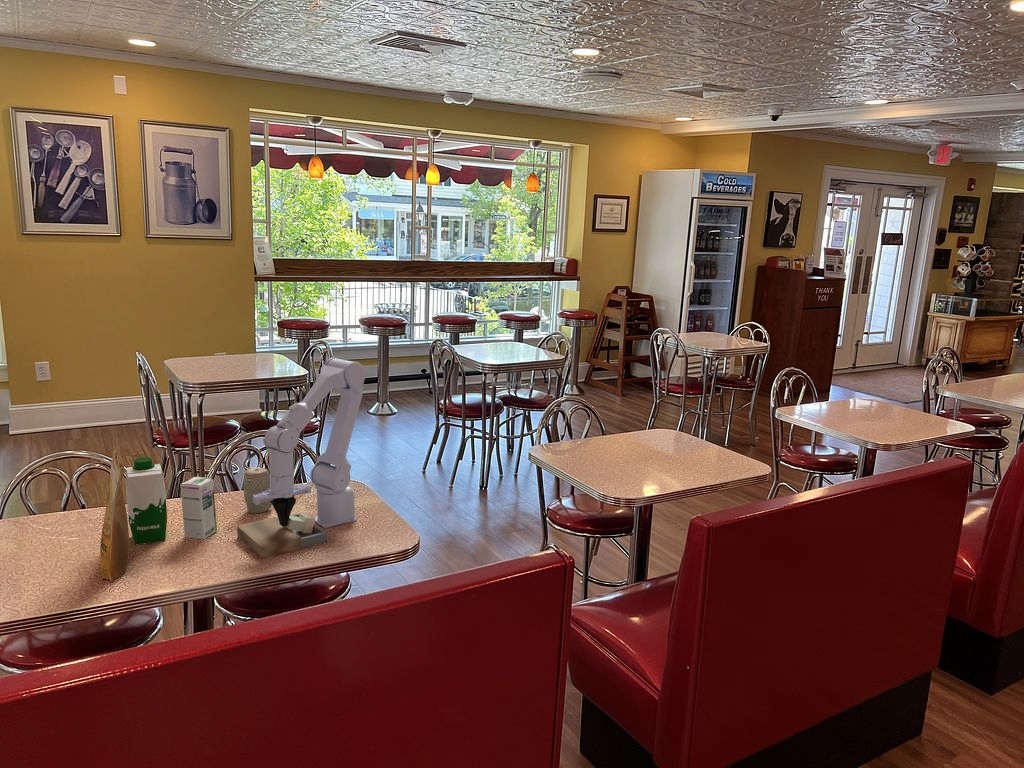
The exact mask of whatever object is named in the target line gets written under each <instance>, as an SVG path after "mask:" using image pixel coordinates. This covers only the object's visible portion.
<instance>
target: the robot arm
mask: <svg viewBox="0 0 1024 768" xmlns="http://www.w3.org/2000/svg"><path fill="white" fill-rule="evenodd" d="M366 375H367V372H366V370H365V368H364V367H363V365H362V363H361V362H359V361H352V360H346V359H342V358H338V357H330V358H328V359H327V360H326V361H325V362H324V364H323V365H322V366H321V367H320V375H319V376H318V378H317V379H316V380H315V382H314V384H313V385H312V386H311V388H310V389H309V391H308V392H307V394H306V395H305V396H304V398H303V399H302V400H301V402H295V403H293V404H292V405H290V406H289V407H288V411H287V412H286V413H285V414H284V416H282V418H281V419H280V420H279V421H278V422H277V424H276V425H273V426H271V427H269V429H267V431H266V432H265V435H264V438H262V442H263V445H264V446H265V447H266V448H267V449H266V450H267V454H268V461H269V475H270V490H268V491H265V492H262V493H259V494H256V495H253V503H254V504H256V505H258V504H260V503H262V502H267V501H270V502H271V503H272V507H273V509H274V511H275V513H276V516H277V518H278V519H279V523H280V525H281V526H283V527H284V526H287V525H288V521H289V517H290V515H291V513H292V510H293V509H294V507H295V504H296V503H297V499H296V497H295V496H298V495H304V494H308V495H309V494H311V493H312V485H310V484H308V483H305V484H297V485H295V475H294V449H295V448H296V447H297V445H298V444H299V438H300V436H301V435H300V434H301V433H302V431H303V430H305V427H306V426H307V425H308V424H309V422H311V420H312V418H313V416H314V415H313V411H314V409H315V408H316V407H317V406H318V405H319V404H320V403H321V402H322V401H323V399H325V397H327V395H328V394H329V393H330V392H331V391H332V390H335V389H336V390H337V392H338V393H339V395H340V398H339V402H338V405H337V409H336V413H335V415H334V418H333V419H334V420H333V423H332V427H331V430H330V434H329V437H328V441H327V446H326V449H325V451H324V453H322V454H320V455H319V456H318V457H317V459H316V462H315V464H314V465H313V467H312V468H311V470H310V474H309V475H310V476H309V477H310V481H311V482H312V483H313V485H314V488H315V490H316V506H317V507H316V508H317V509H316V510H317V512H316V514H317V515H315V516H313V517H314V518H315V523H316V524H318V525H319V526H321V528H322V529H325V528H327V529H328V528H331V527H335V526H338V525H342V524H347V523H350V522H354V521H357V518H356V517H355V516H356V515H355V509H356V508H355V507H356V506H355V494H354V491H353V488H352V487H351V486H349V484H351V483H350V482H351V469H352V464H351V463H350V462H349V460H348V458H347V453H348V450H349V446H350V442H351V439H352V436H353V431H354V427H355V424H356V421H357V417H358V413H359V410H360V409H359V408H360V405H361V402H362V398H363V394H364V393H363V392H364V383H365V380H366Z"/></svg>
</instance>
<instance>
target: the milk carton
mask: <svg viewBox="0 0 1024 768" xmlns="http://www.w3.org/2000/svg"><path fill="white" fill-rule="evenodd" d="M133 462H134V466H130V467H127V468H126V472H125V473H126V474H125V481H126V485H125V488H126V506H127V507H126V509H127V519H128V526H129V528H130V532H131V536H132V540H133V543H134V546H137V545H136V544H140V545H145V544H144V543H146V544H153V543H159V542H165V541H166V539H167V538H166V537H167V525H168V509H167V496H166V486H165V485H166V484H165V483H166V481H165V477H164V476H165V475H164V472H163V469H162V466H161V463H156V464H155V463H153V458H152V457H139V458H136V459H134V460H133Z"/></svg>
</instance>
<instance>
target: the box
mask: <svg viewBox="0 0 1024 768" xmlns="http://www.w3.org/2000/svg"><path fill="white" fill-rule="evenodd" d="M300 513H301V512H299V513H296V514H295V513H294V514H290V516H296V517H299V515H300ZM276 518H277V519H278V517H276ZM278 520H279V519H278ZM292 531H293V532H295V533H296V534H297V535H299V536H300V537H301V548H302V549H305V548H309V546H310V547H312V546H313V545H314V546H317V545H321V544H325V543H328V532H327V531H326V530H325V529H324V528H322V527H320V525H319V526H318V525H317V523H316V522H315V523H314V527H313V531H312V534H311V533H302V532H301V531H297V530H292ZM324 542H325V543H324ZM320 543H321V544H320Z"/></svg>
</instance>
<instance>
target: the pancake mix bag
mask: <svg viewBox="0 0 1024 768" xmlns="http://www.w3.org/2000/svg"><path fill="white" fill-rule="evenodd" d="M111 444H112V447H113V448H112V456H111V457H112V458H111V464H110V473H109V474H110V475H109V476H110V477H109V478H110V479H109V488H108V491H107V492H108V493H107V499H106V505H105V512H104V515H103V516H104V517H103V523H102V531H101V536H100V537H101V538H100V545H99V549H100V551H99V554H100V555H99V559H100V573H101V577H102V579H106V580H105V581H110V583H114V582H115V580H116V581H118V580H119V578H120V579H122V578H123V577H124V576H125V575H126V573H127V572H126V571H127V568H128V564H129V557H130V532H129V531H130V530H129V528H130V527H129V519H128V511H127V507H126V506H127V505H126V502H125V498H124V493H123V487H122V480H123V477H124V475H125V461H124V460H123V458H122V454H121V447H120V445H119V444H117V443H116V441H113V442H112V443H111ZM124 574H125V575H124ZM123 575H124V576H123ZM122 576H123V577H122ZM121 577H122V578H121ZM117 579H118V580H117Z"/></svg>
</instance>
